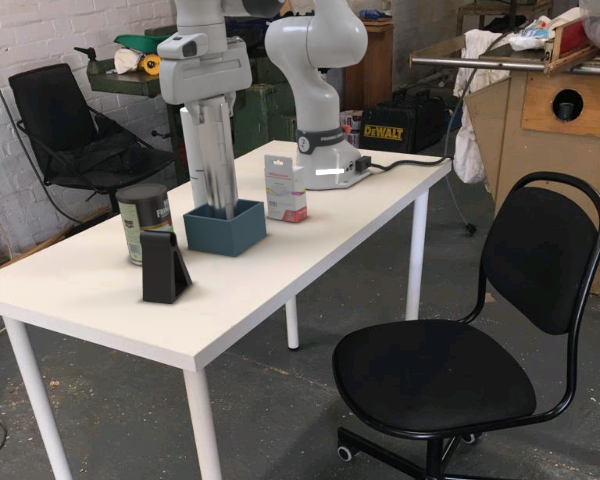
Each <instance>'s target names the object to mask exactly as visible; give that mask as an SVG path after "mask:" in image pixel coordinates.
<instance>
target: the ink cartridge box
mask: <svg viewBox="0 0 600 480" xmlns="http://www.w3.org/2000/svg"><path fill="white" fill-rule="evenodd" d="M263 160H264V163H263V164H264V168H263V170H264V171H263V172H264V181H265V182H264V183H265V191H266V192H265V193H266V194H265V195H266V206H267V216H268V218H270V219H273V220H279V221H285V222H289V223H295V224H296V223H299V222H301V221H302V220H304V219H306V218H308V205H307V203H308V202H307V189H306V184H305V168H304V167H300V166H296V165H293V164H294V163H293V160H294V159H293V158H292V157H289V156H283V155H282V156H281V155H274V154H265V153H264V156H263ZM277 161H279V162H281V163H278V162H277ZM274 162H275V163H274ZM276 162H277V163H276Z"/></svg>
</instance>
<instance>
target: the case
mask: <svg viewBox="0 0 600 480" xmlns="http://www.w3.org/2000/svg"><path fill="white" fill-rule="evenodd" d="M238 200H239V209H240V215H238V216H237V217H235V218H233V219H232V220H230V221H229V220H222V219H215V218H210V211H209V204H208V202H206V203H204V204H202V205H200V206H199V207H197V208H195V207H194V208H193V209H191V210H189V211H187V212H186V213H184V214H182V218H183V226H184V232H185V237H186V238H185V239H186V244H187V249H188V250H193V251H197V252H198V251H199V252H204V253H209V254H217V255H221V256H227V257H233V258H235V257H237V256H239V255H240V254H241V253H243V252H244V251H246V250H247V249H248V248H250V247H252V246H253V245H255V244H256V243H257V242H259V241H260V240H262V239H263V238H265V237H266V236H267V234H268V233H267V221H266V213H265V212H266V211H265V210H266V209H265V201H262V200H253V199H245V198H238Z"/></svg>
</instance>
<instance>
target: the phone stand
mask: <svg viewBox="0 0 600 480" xmlns="http://www.w3.org/2000/svg"><path fill="white" fill-rule="evenodd" d="M144 231H145V232H141V233H140V244H141V248H142V265H141V272H142V273H141V280H142V281H141V283H142V285H141V286H142V288H141V289H142V301H145V302H153V303H164V304H173V303H174V302H176V301H177V300H178V299H179V297H180V296H182V294H184V293H185V291H187V290H188V289H189V288H190V287H191V286H192V285H193V280H192V277H191V275H190V272H189V270H188V268H187V265H186V263H185V260H184V258H183V256H182V252H181V250H180V247H179V243H178V238H177V234H176V232H175V231H174V232H170V231H155V230H144Z"/></svg>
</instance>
